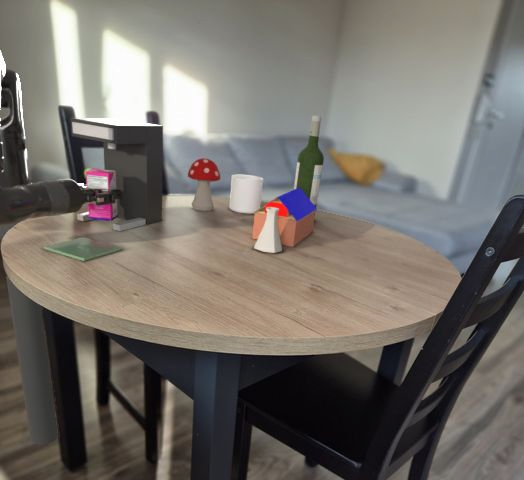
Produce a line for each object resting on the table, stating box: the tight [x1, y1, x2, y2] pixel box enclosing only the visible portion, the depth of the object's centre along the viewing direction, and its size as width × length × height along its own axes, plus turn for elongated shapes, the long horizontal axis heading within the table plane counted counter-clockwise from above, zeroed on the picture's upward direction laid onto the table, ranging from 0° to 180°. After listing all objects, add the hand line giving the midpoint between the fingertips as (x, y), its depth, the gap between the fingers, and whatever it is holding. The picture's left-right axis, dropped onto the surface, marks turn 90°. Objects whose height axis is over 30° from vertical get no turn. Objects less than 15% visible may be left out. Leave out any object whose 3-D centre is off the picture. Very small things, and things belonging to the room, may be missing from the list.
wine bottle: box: [293, 114, 325, 220], centre depth 147 cm, size 8×8×30 cm
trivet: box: [43, 236, 122, 262], centre depth 104 cm, size 11×11×1 cm
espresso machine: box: [69, 117, 164, 232], centre depth 123 cm, size 14×18×24 cm
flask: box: [253, 207, 283, 254], centre depth 117 cm, size 7×7×10 cm
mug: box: [228, 173, 264, 215], centre depth 156 cm, size 13×10×10 cm
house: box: [251, 187, 318, 248], centre depth 131 cm, size 12×20×12 cm, turn 160°
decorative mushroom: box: [187, 157, 221, 212], centre depth 148 cm, size 10×9×15 cm
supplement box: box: [85, 168, 119, 222], centre depth 120 cm, size 6×6×12 cm
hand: (107, 190), depth 121 cm, fingers closed on supplement box, 7 cm apart
